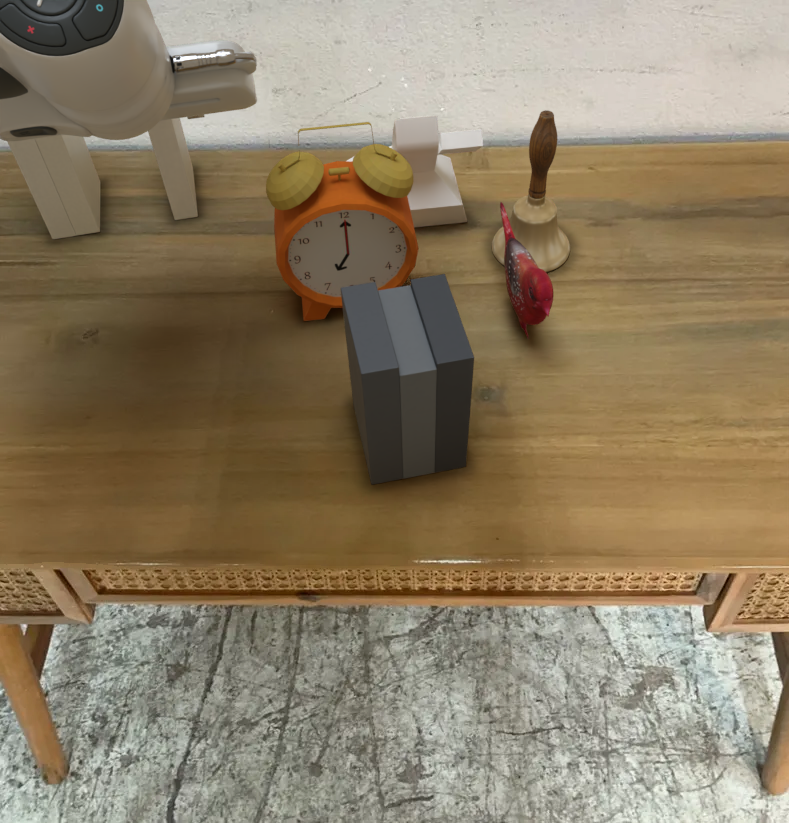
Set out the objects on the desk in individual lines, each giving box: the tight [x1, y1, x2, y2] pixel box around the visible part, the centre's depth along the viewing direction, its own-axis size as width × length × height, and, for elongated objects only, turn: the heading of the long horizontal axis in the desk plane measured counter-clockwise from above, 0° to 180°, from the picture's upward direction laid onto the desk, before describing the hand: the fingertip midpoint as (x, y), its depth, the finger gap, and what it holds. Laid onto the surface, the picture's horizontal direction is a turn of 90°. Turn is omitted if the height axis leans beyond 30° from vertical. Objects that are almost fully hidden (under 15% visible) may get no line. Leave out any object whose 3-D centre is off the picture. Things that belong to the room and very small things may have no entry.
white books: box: [6, 135, 101, 240], centre depth 89 cm, size 5×9×15 cm, turn 12°
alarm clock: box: [265, 121, 419, 322], centre depth 77 cm, size 13×6×20 cm, turn 97°
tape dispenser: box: [346, 115, 484, 228], centre depth 88 cm, size 8×14×14 cm, turn 97°
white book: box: [147, 118, 199, 221], centre depth 90 cm, size 3×9×14 cm, turn 12°
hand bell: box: [491, 110, 571, 273], centre depth 83 cm, size 8×8×16 cm
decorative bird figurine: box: [499, 201, 554, 340], centre depth 80 cm, size 3×18×10 cm, turn 9°
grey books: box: [341, 273, 475, 485], centre depth 69 cm, size 8×9×15 cm
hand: (139, 116), depth 72 cm, fingers open, 8 cm apart
